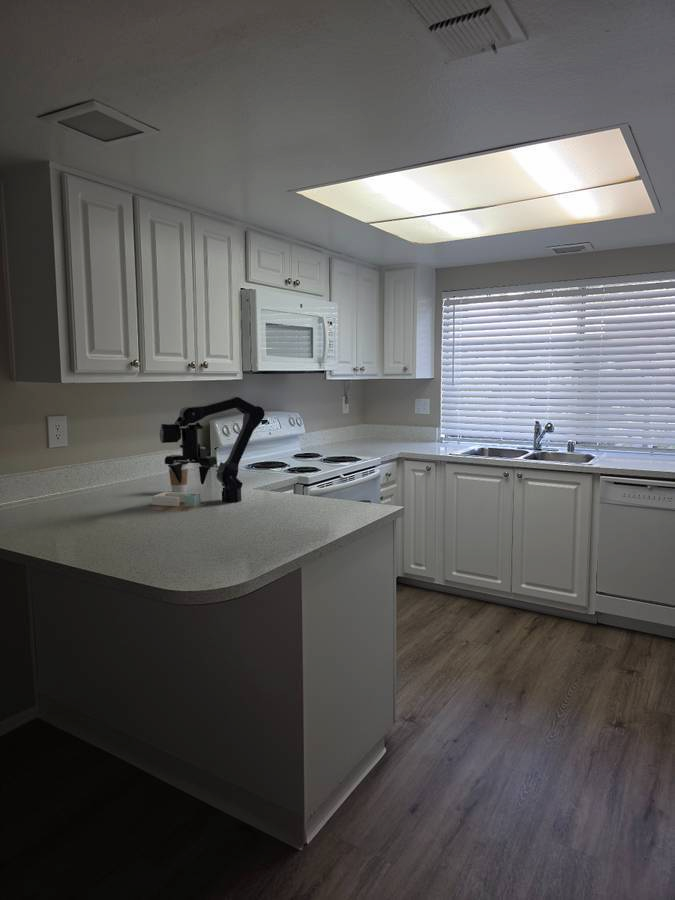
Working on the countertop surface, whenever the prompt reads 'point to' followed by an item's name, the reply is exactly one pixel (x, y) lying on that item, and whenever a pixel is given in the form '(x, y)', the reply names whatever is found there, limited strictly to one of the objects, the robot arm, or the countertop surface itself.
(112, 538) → the countertop surface
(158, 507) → the board
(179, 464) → the robot arm
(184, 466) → the coffee cup
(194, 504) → the teal hollow cube
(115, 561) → the countertop surface
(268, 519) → the countertop surface
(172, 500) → the white bent bar
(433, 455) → the countertop surface
